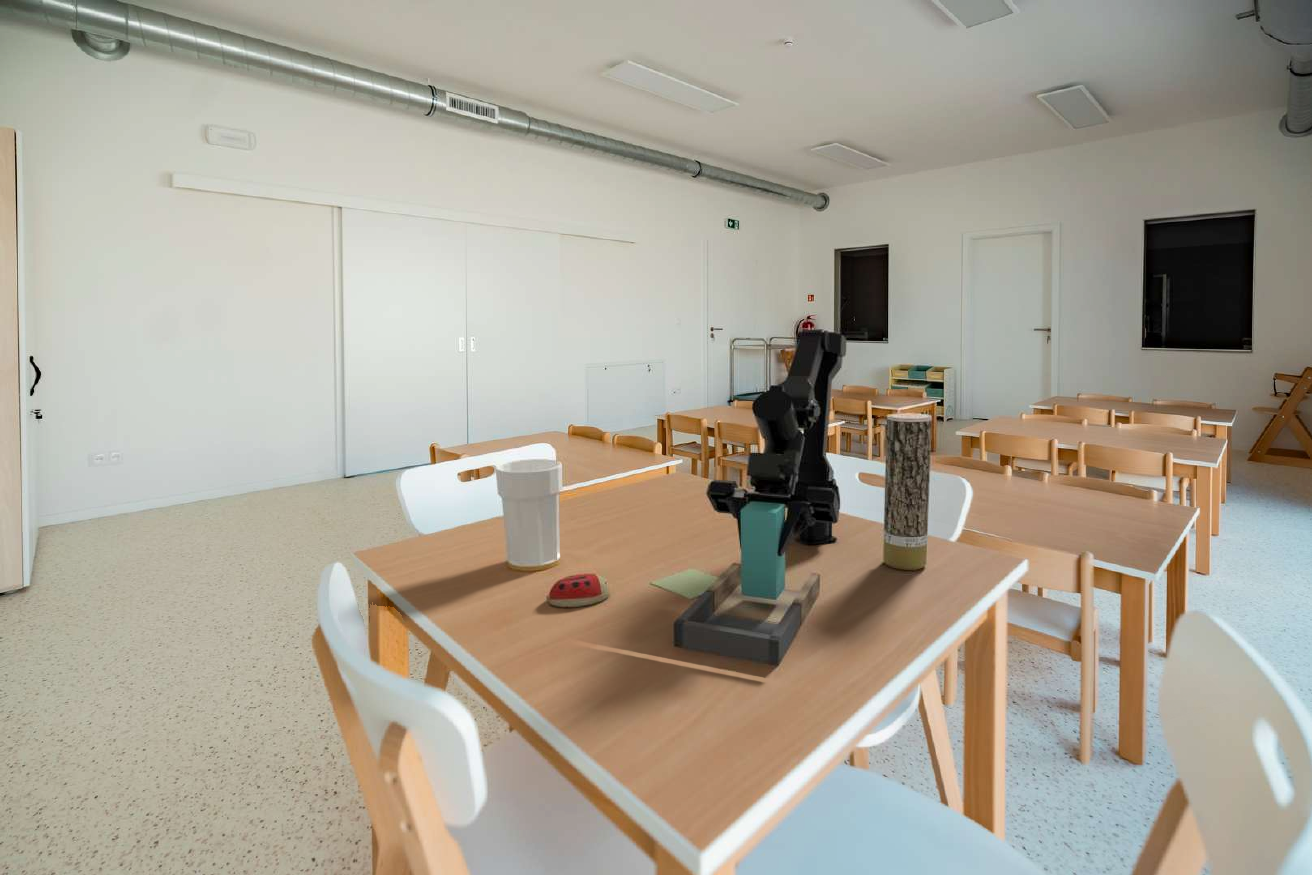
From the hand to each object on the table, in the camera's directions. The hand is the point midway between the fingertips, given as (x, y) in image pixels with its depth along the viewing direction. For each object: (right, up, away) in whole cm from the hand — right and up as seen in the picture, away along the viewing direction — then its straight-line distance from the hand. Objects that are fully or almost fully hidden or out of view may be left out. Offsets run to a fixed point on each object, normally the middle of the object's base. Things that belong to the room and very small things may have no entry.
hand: (760, 552), depth 95 cm
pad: (-9, -7, +11) cm, 16 cm away
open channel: (+1, -8, +3) cm, 9 cm away
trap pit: (-4, -10, -8) cm, 13 cm away
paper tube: (+27, -5, +18) cm, 33 cm away
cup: (-36, -6, +24) cm, 44 cm away
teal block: (+1, -6, +2) cm, 6 cm away
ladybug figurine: (-26, -9, +7) cm, 29 cm away
